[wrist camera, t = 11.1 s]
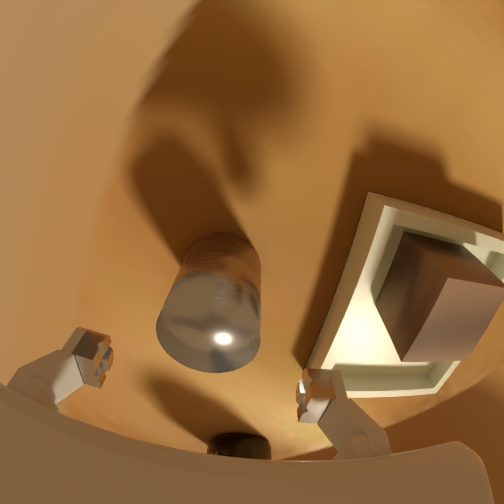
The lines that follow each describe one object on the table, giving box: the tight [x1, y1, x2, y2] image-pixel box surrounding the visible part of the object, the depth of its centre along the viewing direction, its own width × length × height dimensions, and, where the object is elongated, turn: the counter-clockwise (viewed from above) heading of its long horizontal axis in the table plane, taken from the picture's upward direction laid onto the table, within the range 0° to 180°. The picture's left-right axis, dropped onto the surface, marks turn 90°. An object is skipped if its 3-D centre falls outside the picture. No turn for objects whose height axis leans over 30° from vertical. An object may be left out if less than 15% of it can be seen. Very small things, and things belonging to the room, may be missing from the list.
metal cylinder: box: [156, 232, 261, 373], centre depth 15 cm, size 4×4×6 cm
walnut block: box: [374, 231, 504, 362], centre depth 14 cm, size 5×5×5 cm
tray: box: [305, 191, 504, 398], centre depth 17 cm, size 14×12×2 cm
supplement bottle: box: [207, 433, 271, 460], centre depth 22 cm, size 7×7×12 cm
